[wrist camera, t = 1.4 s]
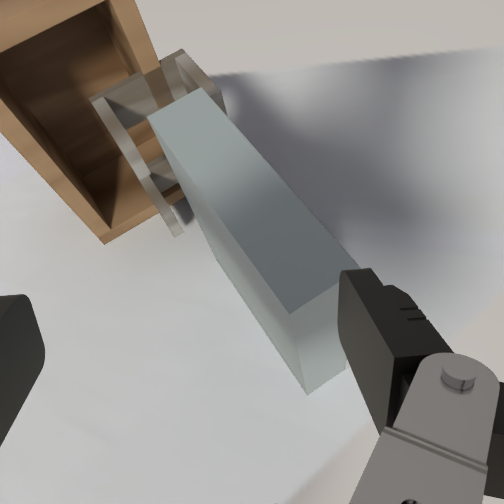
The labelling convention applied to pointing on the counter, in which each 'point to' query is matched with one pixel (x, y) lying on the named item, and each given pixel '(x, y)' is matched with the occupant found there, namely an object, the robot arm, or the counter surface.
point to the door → (259, 235)
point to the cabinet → (93, 107)
